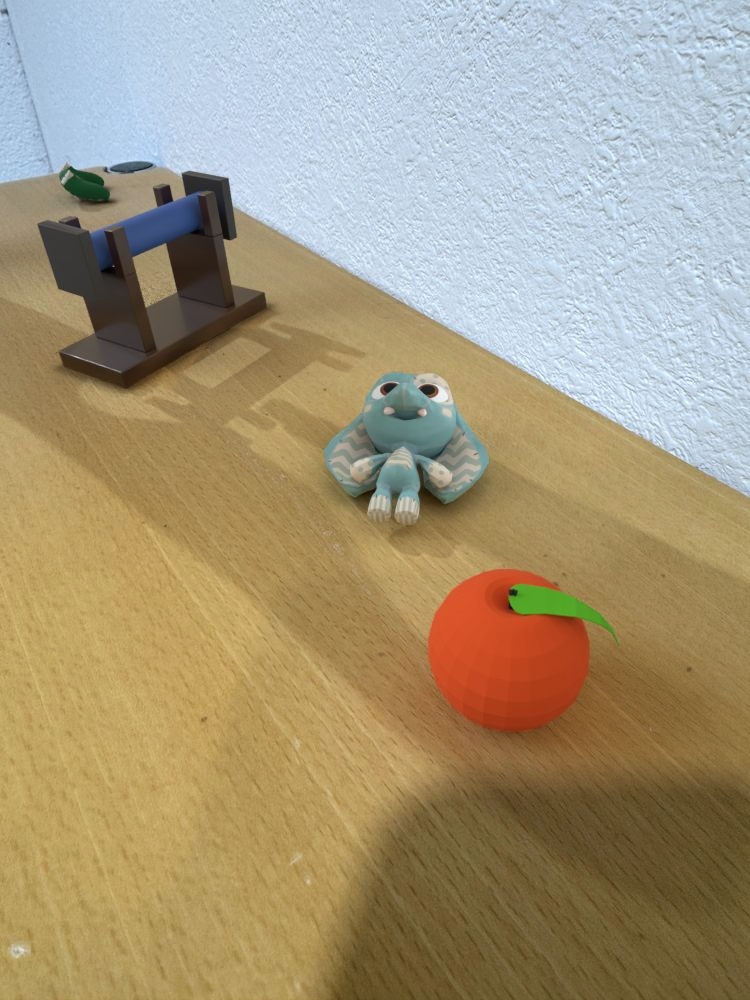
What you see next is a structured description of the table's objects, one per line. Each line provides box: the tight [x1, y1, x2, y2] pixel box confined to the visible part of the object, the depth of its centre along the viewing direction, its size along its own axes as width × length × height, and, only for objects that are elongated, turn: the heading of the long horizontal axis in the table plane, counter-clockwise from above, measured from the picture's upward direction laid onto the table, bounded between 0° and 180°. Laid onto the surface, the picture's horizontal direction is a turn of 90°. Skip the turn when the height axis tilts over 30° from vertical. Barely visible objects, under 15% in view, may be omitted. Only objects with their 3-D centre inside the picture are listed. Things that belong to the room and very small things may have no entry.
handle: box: [36, 170, 238, 302], centre depth 58 cm, size 16×5×5 cm, turn 147°
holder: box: [58, 183, 268, 389], centre depth 61 cm, size 18×8×12 cm, turn 147°
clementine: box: [427, 568, 620, 733], centre depth 30 cm, size 8×7×7 cm
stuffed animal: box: [323, 371, 490, 526], centre depth 44 cm, size 11×7×12 cm
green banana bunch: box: [58, 161, 111, 202], centre depth 100 cm, size 9×4×6 cm
